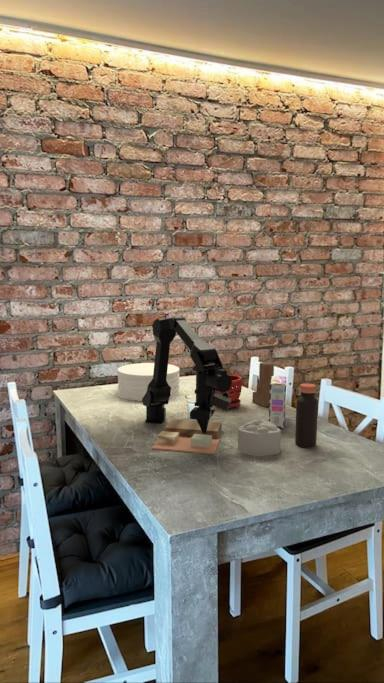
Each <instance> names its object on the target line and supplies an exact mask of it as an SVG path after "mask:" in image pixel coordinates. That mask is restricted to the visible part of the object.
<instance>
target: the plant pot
mask: <svg viewBox="0 0 384 683" xmlns="http://www.w3.org/2000/svg"><path fill="white" fill-rule="evenodd" d="M228 375H229V376H230V378H231V380H232V385H231V387H230V389H229V390H228V391H227V393H229V398H231V403H230V405H229V408H235V407H238V406H239V405H240V404H241V403H242V402H241V401H242V400H241V399H239V398H240V397H241V394H242V389H243V388H242V386H243V383H242V382H243V381H242V380H243V379H242V377H241V376H239V375H236V374H228ZM216 393H218V394H223V392H219V391H216ZM229 408H228V409H229Z"/></svg>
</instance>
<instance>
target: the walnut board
mask: <svg viewBox="0 0 384 683" xmlns="http://www.w3.org/2000/svg"><path fill="white" fill-rule="evenodd" d="M222 424H223V423H222V422H221V421H209V423H208V427H207V432H206V433H202V430H201V428H200V426H199V424H198V422H197V420H196V419H190V420H189V419H177V418H172V419H171V420H170V421H169V423H168V424H167V425H166V426H165V430H164V431H167V432H178V433H179V436H184V437H192V436H193V435H194V434H203V435H212V439H219V436H220V435H221V432H222V426H223V425H222Z"/></svg>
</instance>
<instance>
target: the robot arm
mask: <svg viewBox="0 0 384 683" xmlns="http://www.w3.org/2000/svg"><path fill="white" fill-rule="evenodd" d="M176 334H177V336H178V337H179V338H180V339H181V341H182V342H183V343H184V344H185V345H186V347H187V348H188V350H189V357H190V358H191V360H192V362H193V363H194V366H193V367H192V371H194V372H195V390H194V394H195V402H194V407H193V408H192V409H191V410H190V412H189V419H190V420H195V421H197V422H198V424H199V426H200V428H201V430H202V433H206V432H207V427H208V423H209V422H210V420H211V418H212V417H213V415H214V414H215V412H216V409H212V408H214V407H216V408H219V409H222V411H225V412H227V411H228V410H229V405H230V403H231V398H229V393H227V391H228V390H229V389H230V387H231V385H232V380H231V378H230V376H229V375H230V374H227V372H228V371H227V369H224V366H223V363H222V361H221V359H220V356H219V353H218V350H217V349H216V348H215V346H213V345H211V344H210V343H209V342H206V341H204V340H203V339H201V338H200V336H199V335H198V334H197V333H196V332H195V330H194V329H193V328H192V327H191V325H190V324H189V323H188V322H187V319H186V317H184V316H182V315H181V316H171V317H166V318H164V317H163V318H156V319H155V320H153V323H152V336H153V338H154V339H155V341H156V342H155V344H156V345H155V355H154V362H153V363H154V373H153V379H152V380H151V382H150V383H149V385H148V388H147V392H146V394H145V395H144V397H143V398H142V401H141V403H142V406H144V407H145V409H146V410H145V412H146V414H145V415H146V417H145V418H146V419H145V420H144V423H155V424H162V423H163V422H165V420H166V419H167V408H166V407H165V405H169V401H170V399H169V397H170V391H171V387H170V386H169V385H168V383H167V381H166V378H167V369H168V364H169V359H170V348H171V343H172V342H173V341H174V339H175V338H176ZM216 391H219V392H223V394H218V393H216Z"/></svg>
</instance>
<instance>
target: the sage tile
mask: <svg viewBox="0 0 384 683" xmlns="http://www.w3.org/2000/svg"><path fill="white" fill-rule="evenodd" d="M211 443H212V435H203V434H194V435H193V436H192V437H191V446H194V447H204V448H209V447H210V445H211Z"/></svg>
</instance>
